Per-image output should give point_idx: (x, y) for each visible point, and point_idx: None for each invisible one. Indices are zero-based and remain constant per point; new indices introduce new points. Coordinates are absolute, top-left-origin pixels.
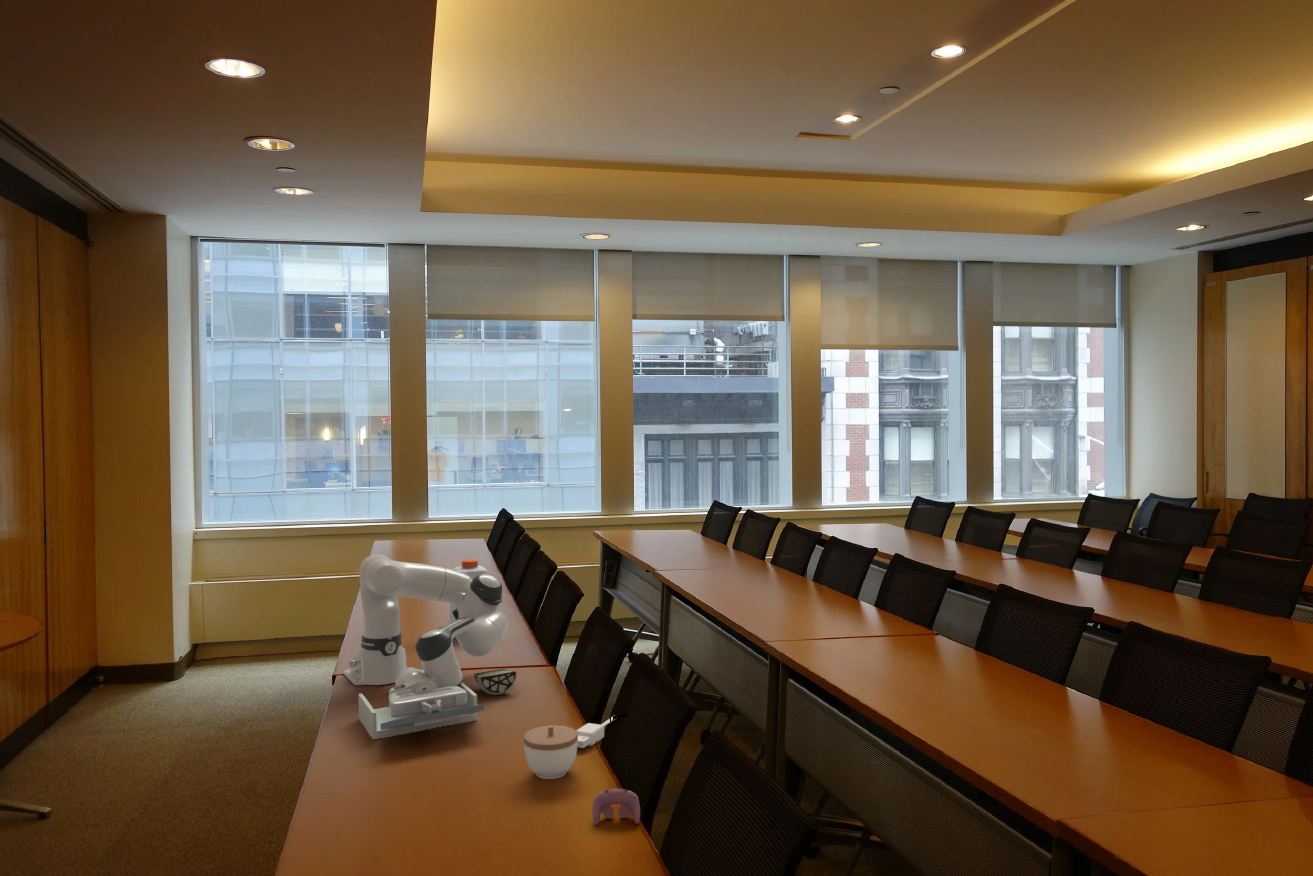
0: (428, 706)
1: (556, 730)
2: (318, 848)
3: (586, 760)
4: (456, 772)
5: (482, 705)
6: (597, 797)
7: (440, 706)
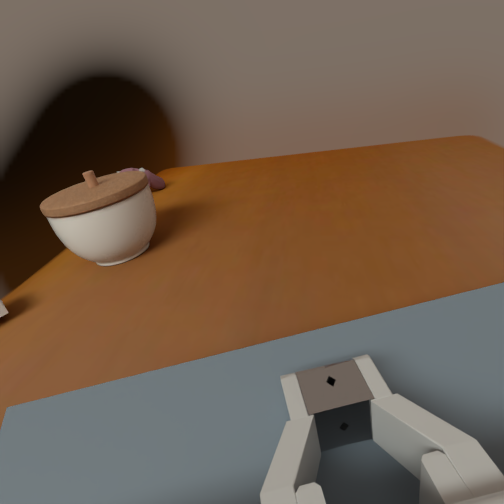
0: (385, 385)
1: (73, 193)
2: (456, 145)
3: (40, 280)
4: (278, 258)
5: (16, 408)
6: (147, 170)
7: (283, 375)
